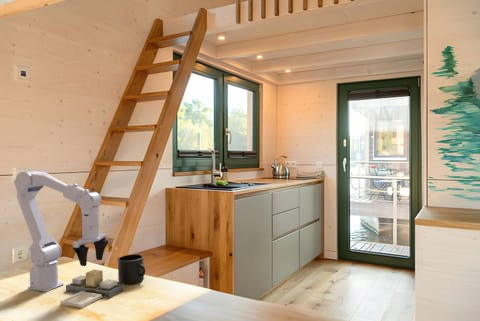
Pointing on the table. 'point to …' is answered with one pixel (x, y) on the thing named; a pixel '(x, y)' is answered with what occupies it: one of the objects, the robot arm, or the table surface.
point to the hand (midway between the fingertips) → (91, 262)
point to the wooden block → (94, 278)
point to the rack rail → (106, 288)
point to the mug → (130, 269)
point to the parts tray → (81, 299)
